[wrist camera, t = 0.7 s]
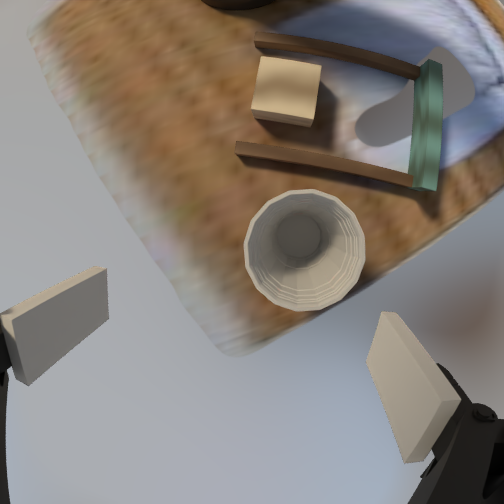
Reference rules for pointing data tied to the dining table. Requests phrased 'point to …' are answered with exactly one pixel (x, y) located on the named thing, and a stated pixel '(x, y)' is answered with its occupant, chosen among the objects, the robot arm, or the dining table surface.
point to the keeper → (286, 91)
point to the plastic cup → (304, 250)
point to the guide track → (424, 115)
